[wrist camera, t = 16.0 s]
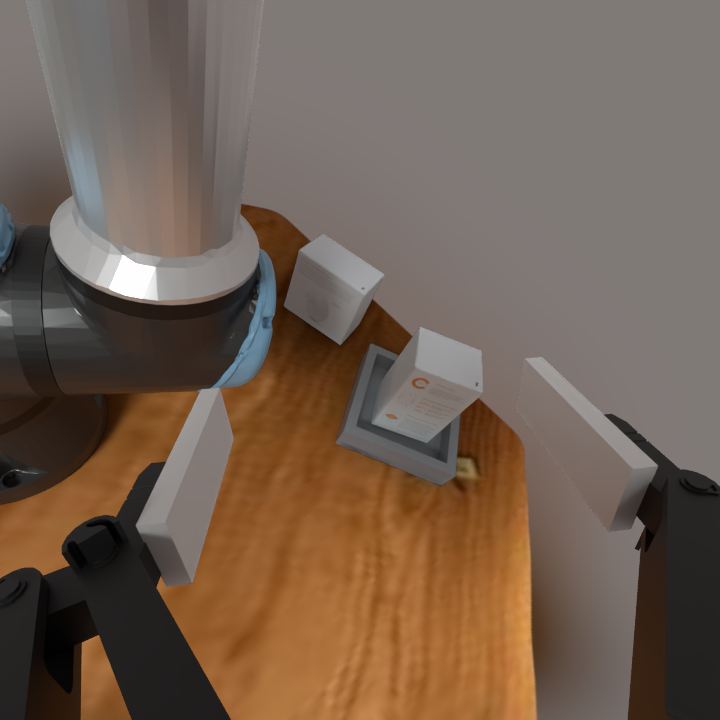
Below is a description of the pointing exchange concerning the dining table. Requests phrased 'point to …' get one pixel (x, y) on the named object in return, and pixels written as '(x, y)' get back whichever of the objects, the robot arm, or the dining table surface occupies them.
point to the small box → (428, 386)
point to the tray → (388, 446)
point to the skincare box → (331, 288)
